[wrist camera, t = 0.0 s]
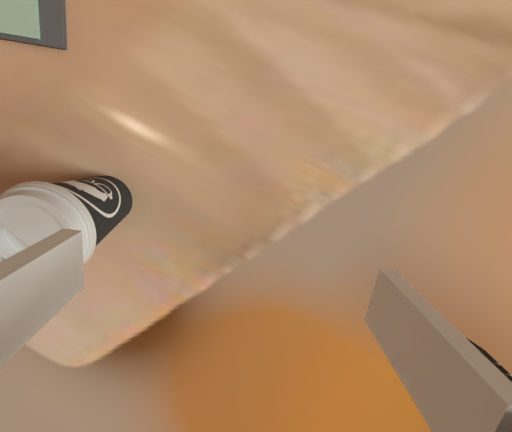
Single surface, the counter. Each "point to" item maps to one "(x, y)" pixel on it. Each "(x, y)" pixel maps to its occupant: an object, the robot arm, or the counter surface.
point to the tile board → (34, 22)
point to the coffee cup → (61, 212)
